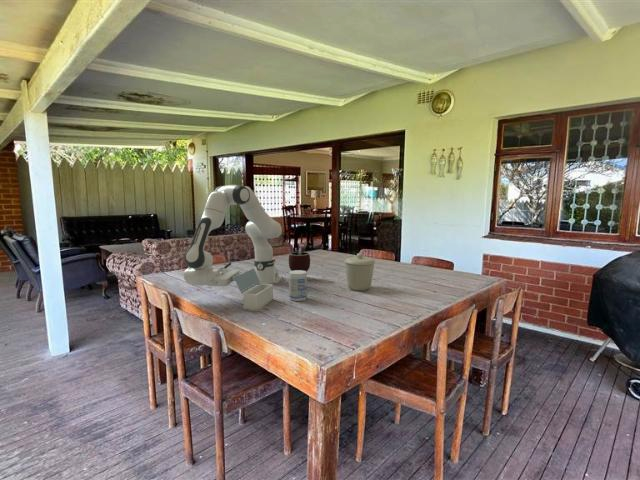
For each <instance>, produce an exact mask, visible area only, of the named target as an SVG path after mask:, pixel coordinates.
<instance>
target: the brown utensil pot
mask: <svg viewBox="0 0 640 480" xmlns="http://www.w3.org/2000/svg"><path fill="white" fill-rule="evenodd" d="M288 266H289V270H290V271H294V270H302V271H306V272H308V271H309V269H310V267H311V256H310V252H307V251H302V246H300V247H299V249H298V251H294V252H289V254H288ZM309 280H310V277H308V276H307V282H308V281H309Z"/></svg>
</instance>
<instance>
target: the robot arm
mask: <svg viewBox="0 0 640 480" xmlns="http://www.w3.org/2000/svg"><path fill="white" fill-rule="evenodd" d="M234 205H235V206H237V205H239V207H240V209H241V210H242V212H243V214H244V216H245V218H246V219H247V220H248V221H247V222H246V224H245V230H244V231H245V233H246V234H247V235H248V236H249V237H250V239H251V241H252V245H253V247H254V248H253V249H254V266H253V268H254V269H255V271H256V274H257V276H258V278H259V280H260V281H259V282H260V284H272V285H274V284H279V283H280V281H281V280H282V279H283V276H282V275H279V268H277V266H276V265H275V263H276V259H275V258H274V254H273V253H274V250H273V246H272V245H271V244H270V243H269V241H268V240H269V239H270V240H272V239H277V238H279V237H280V236H281V235H282V231H283V230H282V229H283V228H282V226H281V224H280V222H278V221H277V220H274V219H273V218H272V217H271V216H270V215H269V214H268V213H267V212H266V210H265V209H264V208H263V206H262V204H261V203H260V201H259V199H258V197H257V195H256V193H255V192H254V191H253V189H251V187H250V186H246V185H245V186H244V185H242V184H227V185H226V184H225V185H219V186H217V187H216V188H215V189H214V190H213V191H212V192H211V193H210V194H209V196H208V198H207V200H206V203H205V205H204V208H203V212H202V216H201V218H200V220H199V221H198V223H197V226H196V229H195V232H194V234H193V238H192V240H191V243H190V245H189V246H188V248H187V249H186V251H185V252H184V255H183V262H184V263H185V265H186V267H187V268H186V269H185V270H184V271H183V278H184V280H185V283H187V284H188V285H190V286H198V287H201V286H202V287H203V286H208V287H228V286H229V285H231V284H232V283H233V282H236V281H235V279H234V277H236V276H238V275H240V274H241V271H240V270H239V269H235V268H234V269H232V268H226V269H225V268H223V267H220V268H213V265H214V255H213V254H212V253H211V252H208V251H206V250H205V246H206V242H207V240H208V236H209V234H210V233H211V232H212V231H213V230H216V229H218V228H220V227H221V226H222V224H223V223H224V220H225V217H226V213H227V208H228V207H229V206H234ZM257 283H258V282H257ZM255 284H256V283H255Z"/></svg>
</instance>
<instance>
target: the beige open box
mask: <svg viewBox="0 0 640 480" xmlns="http://www.w3.org/2000/svg"><path fill="white" fill-rule="evenodd" d="M242 299H243V311H249V312H259V310H261V309H262V308H264V307H265V306H266V305H268V304H269V303H271V302H272V301H273V300H274V284H258V285H256V286H254V287H253V288H251V289H249V290H248V291H246V292H244V293H242Z"/></svg>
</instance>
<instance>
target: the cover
mask: <svg viewBox="0 0 640 480" xmlns="http://www.w3.org/2000/svg"><path fill="white" fill-rule="evenodd" d="M234 279H235V281H234V282H235V283H236V286H237V287H238V290H239V292H240V294H241V295H243V294H244V293H246V292H248V291H249V290H251V289H253V288H254V287H256V286H258V285H259V284H260V282H259V281H260V280H259V278H258V276H257V274H256V271H255V269H254V267H253V268H251V269H249V270H247V271H245V272H243V273H240V275H238V276H236V277H234ZM257 282H258V283H257ZM255 283H256V284H255Z"/></svg>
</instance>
